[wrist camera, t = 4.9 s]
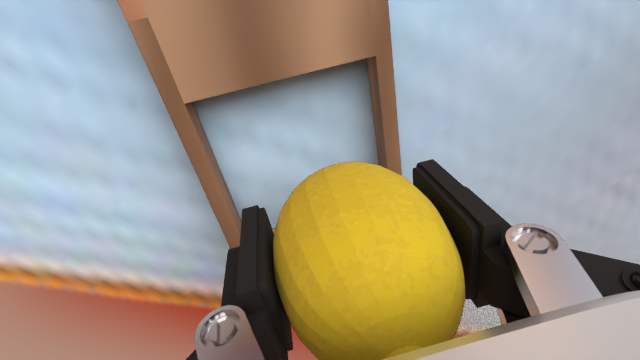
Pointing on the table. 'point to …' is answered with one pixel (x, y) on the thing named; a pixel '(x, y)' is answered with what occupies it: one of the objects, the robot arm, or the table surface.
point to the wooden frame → (258, 64)
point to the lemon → (366, 265)
